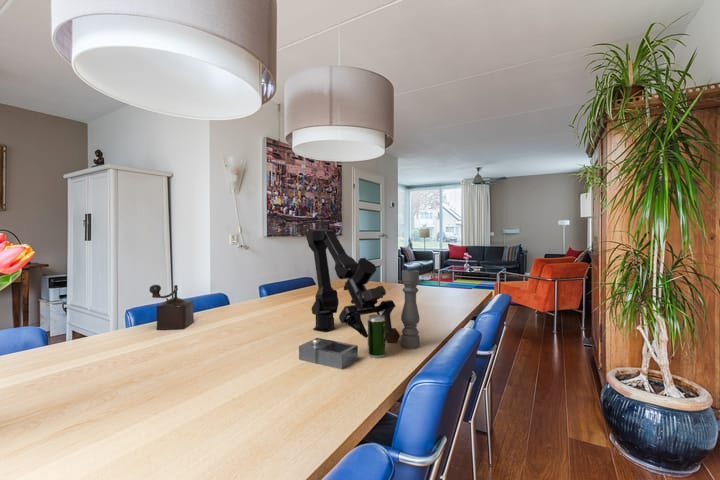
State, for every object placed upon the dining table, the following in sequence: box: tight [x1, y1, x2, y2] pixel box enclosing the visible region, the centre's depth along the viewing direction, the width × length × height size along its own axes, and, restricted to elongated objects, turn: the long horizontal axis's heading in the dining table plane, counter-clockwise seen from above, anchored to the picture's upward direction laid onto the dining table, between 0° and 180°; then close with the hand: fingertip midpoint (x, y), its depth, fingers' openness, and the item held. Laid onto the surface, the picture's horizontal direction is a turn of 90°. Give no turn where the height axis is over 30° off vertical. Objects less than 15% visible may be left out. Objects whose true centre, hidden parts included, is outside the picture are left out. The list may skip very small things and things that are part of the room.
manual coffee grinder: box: [149, 284, 195, 331], centre depth 134 cm, size 16×11×18 cm
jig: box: [298, 337, 359, 370], centre depth 102 cm, size 15×9×5 cm, turn 61°
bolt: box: [385, 327, 401, 345], centre depth 124 cm, size 6×5×15 cm
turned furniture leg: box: [400, 269, 420, 350], centre depth 113 cm, size 6×6×25 cm
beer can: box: [367, 313, 386, 359], centre depth 105 cm, size 5×5×12 cm
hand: (379, 334), depth 104 cm, fingers open, 9 cm apart
